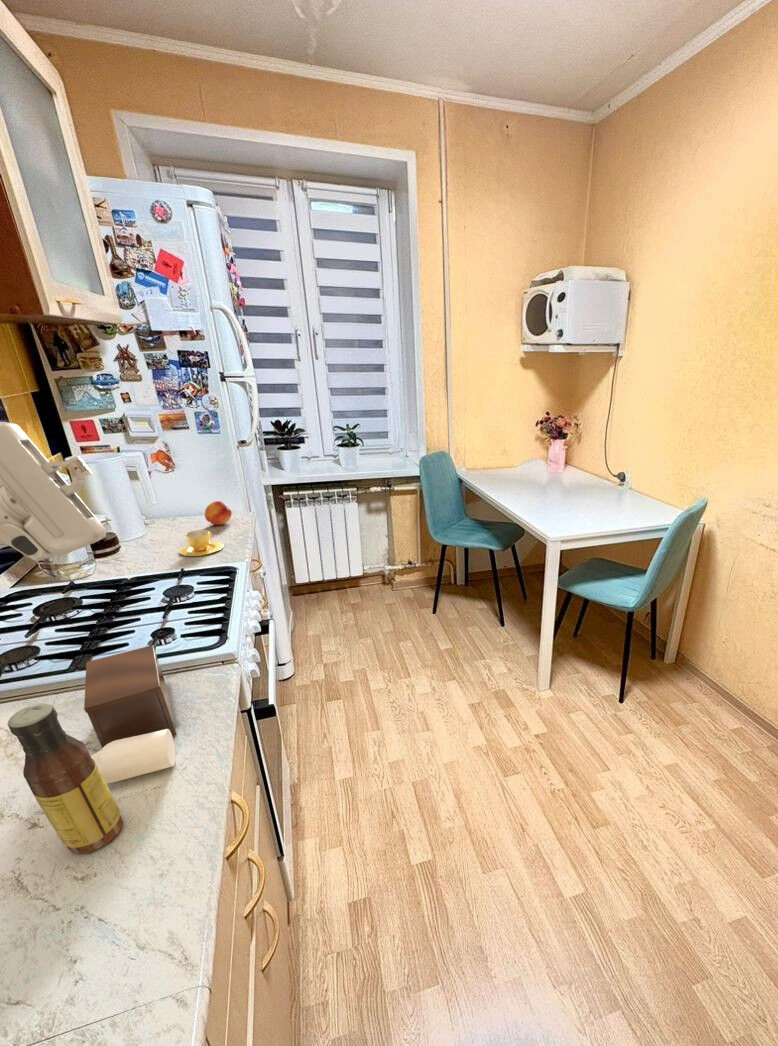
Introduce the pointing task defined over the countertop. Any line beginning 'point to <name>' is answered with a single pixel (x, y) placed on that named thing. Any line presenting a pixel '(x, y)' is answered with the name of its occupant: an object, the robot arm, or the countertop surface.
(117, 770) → the cream bottle
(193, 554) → the cup
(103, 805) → the sauce bottle
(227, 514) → the fruit
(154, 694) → the bread box
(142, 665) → the bread box lid
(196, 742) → the countertop surface
